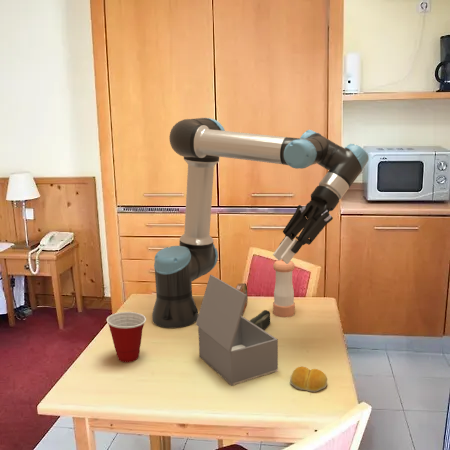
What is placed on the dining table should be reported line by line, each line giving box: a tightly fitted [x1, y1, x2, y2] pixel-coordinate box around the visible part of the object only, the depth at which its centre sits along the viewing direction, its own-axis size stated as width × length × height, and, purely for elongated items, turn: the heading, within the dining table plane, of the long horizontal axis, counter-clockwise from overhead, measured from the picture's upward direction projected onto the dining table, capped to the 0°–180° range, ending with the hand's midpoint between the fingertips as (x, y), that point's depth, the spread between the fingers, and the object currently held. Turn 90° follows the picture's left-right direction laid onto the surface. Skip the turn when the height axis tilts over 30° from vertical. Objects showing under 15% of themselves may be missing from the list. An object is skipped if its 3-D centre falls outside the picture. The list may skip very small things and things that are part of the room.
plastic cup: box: [106, 311, 147, 363], centre depth 143 cm, size 11×11×12 cm
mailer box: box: [197, 315, 279, 387], centre depth 139 cm, size 18×14×9 cm
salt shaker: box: [272, 259, 296, 318], centre depth 171 cm, size 7×7×19 cm
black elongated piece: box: [249, 309, 271, 331], centre depth 159 cm, size 5×3×15 cm
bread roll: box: [289, 365, 328, 393], centre depth 129 cm, size 8×9×4 cm
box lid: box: [195, 274, 248, 351], centre depth 134 cm, size 19×14×1 cm
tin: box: [235, 282, 249, 316], centre depth 175 cm, size 15×3×8 cm, turn 168°
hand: (280, 259), depth 140 cm, fingers open, 3 cm apart
